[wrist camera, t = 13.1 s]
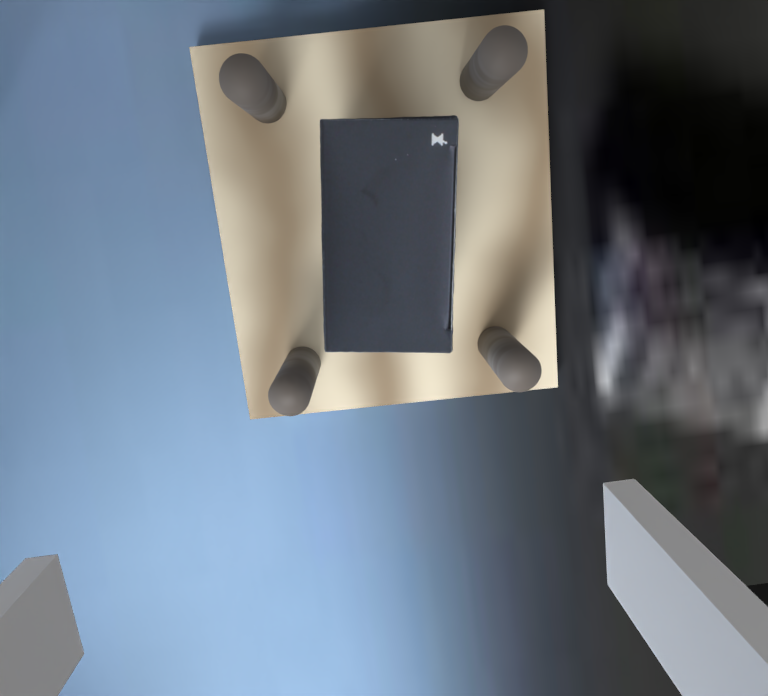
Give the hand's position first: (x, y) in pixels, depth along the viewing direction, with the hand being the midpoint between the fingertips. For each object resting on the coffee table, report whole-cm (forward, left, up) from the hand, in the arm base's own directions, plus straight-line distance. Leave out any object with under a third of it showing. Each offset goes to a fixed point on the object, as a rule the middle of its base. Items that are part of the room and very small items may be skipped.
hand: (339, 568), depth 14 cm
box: (+2, +7, -21) cm, 22 cm away
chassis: (+2, +7, -22) cm, 23 cm away
